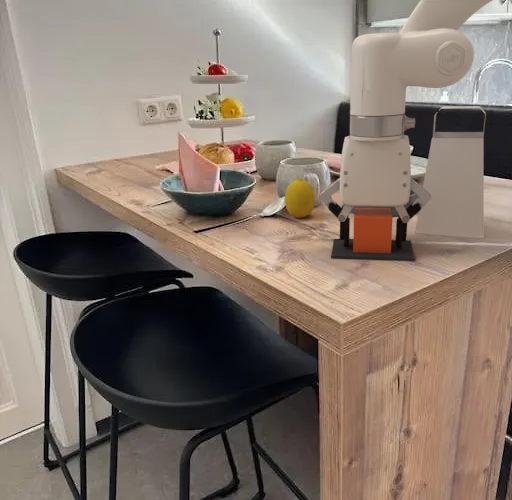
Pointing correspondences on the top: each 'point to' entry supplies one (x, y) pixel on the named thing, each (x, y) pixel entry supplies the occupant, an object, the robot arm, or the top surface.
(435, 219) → the grater
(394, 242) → the mat
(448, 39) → the robot arm
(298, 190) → the lemon
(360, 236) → the cube
